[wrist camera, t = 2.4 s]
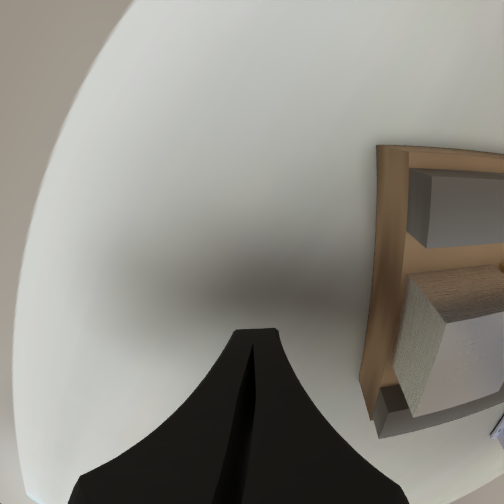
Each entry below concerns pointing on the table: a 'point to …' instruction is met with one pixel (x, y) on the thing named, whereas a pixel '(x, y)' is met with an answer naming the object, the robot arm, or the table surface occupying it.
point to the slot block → (425, 257)
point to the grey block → (450, 337)
